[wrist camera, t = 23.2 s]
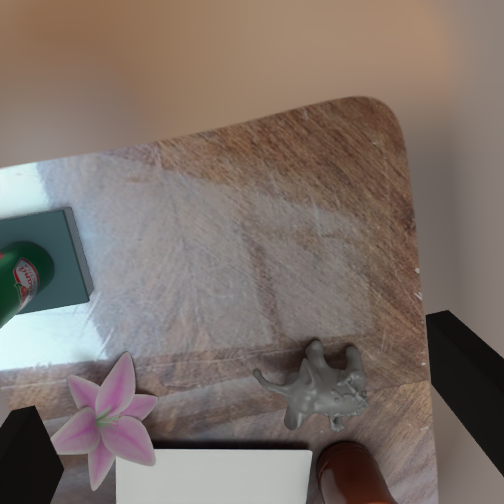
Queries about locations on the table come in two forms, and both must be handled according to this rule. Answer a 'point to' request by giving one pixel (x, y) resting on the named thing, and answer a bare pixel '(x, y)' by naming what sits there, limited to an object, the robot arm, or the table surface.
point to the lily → (108, 422)
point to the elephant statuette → (322, 388)
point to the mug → (351, 476)
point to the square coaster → (53, 256)
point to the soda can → (21, 277)
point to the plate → (216, 477)
